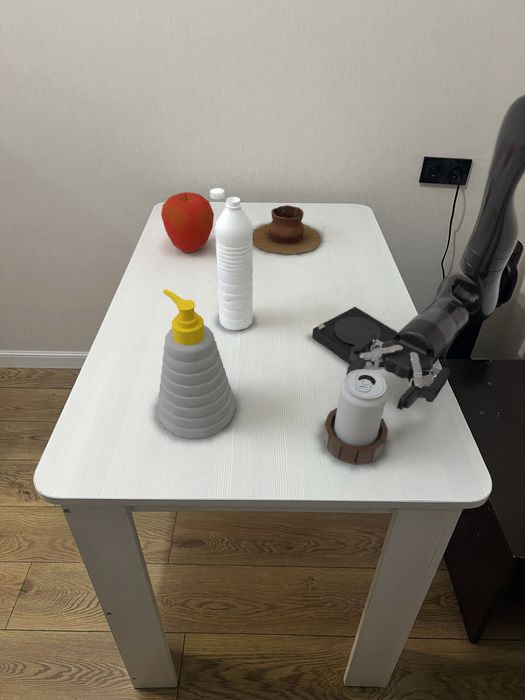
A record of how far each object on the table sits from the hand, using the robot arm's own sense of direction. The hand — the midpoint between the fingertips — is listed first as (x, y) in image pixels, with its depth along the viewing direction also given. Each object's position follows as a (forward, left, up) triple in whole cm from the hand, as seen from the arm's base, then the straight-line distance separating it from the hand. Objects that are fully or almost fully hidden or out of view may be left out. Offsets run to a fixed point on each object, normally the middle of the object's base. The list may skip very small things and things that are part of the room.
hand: (374, 390), depth 71 cm
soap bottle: (+19, +18, -8) cm, 28 cm away
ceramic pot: (+54, -32, -8) cm, 63 cm away
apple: (+64, -10, -8) cm, 66 cm away
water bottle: (+35, -1, -8) cm, 36 cm away
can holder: (-1, +3, -8) cm, 9 cm away
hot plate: (+15, -15, -8) cm, 23 cm away
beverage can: (-1, +3, -8) cm, 9 cm away
